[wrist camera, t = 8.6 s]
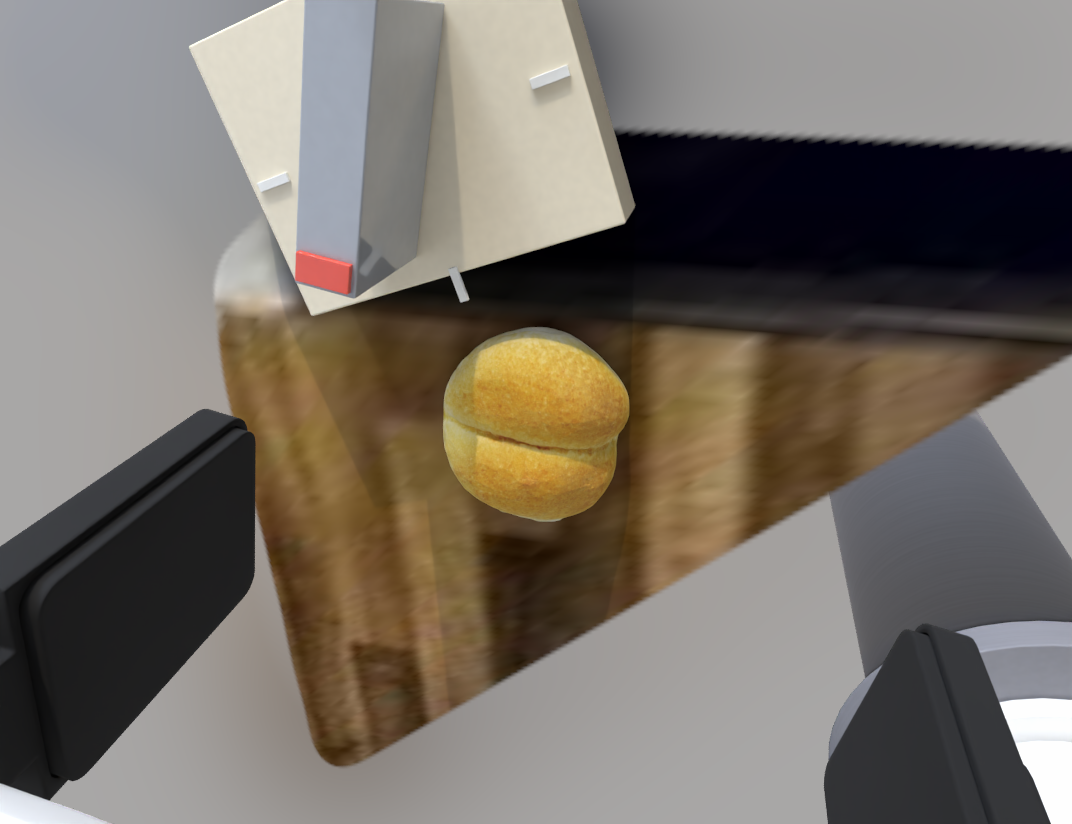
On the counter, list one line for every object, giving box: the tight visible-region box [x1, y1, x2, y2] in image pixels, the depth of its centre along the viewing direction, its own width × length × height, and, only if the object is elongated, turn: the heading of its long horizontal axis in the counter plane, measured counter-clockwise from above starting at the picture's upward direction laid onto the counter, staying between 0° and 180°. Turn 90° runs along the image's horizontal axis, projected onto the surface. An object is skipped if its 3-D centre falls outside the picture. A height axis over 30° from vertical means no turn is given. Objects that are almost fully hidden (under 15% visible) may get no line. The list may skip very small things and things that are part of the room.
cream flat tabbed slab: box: [189, 0, 635, 316], centre depth 29 cm, size 14×13×3 cm
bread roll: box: [443, 327, 629, 522], centre depth 33 cm, size 8×9×4 cm
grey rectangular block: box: [295, 0, 445, 299], centre depth 25 cm, size 9×2×6 cm, turn 169°
